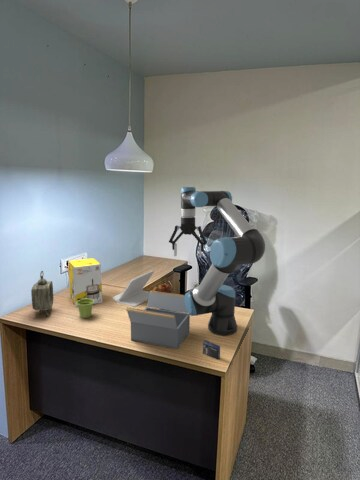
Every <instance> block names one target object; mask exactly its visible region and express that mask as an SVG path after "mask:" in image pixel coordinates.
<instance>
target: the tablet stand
mask: <svg viewBox="0 0 360 480" xmlns="http://www.w3.org/2000/svg"><path fill="white" fill-rule="evenodd" d="M154 272H155V269H152V270H150V271H148V272H146V273H143V274H141V275H139V276H136V277H134V278H131V280H130V281H129V282H128V284H127V286H126V287H125V288H124V291H122V292H121V293H118V294H116V295H115V296H112V300H113V301H114V302H116V303H117V304H121V305H126V306H131V307H134V308H135V307H137V306H139V305H141V304H143V303H145V302H146V301H147V302H148V299H149V294H150V291H147V290H144V288H145V286H146V285H147V283H148V282H149V280H150V279H151V278H152V276H153V275H154V274H155V273H154Z"/></svg>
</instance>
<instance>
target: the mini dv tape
mask: <svg viewBox="0 0 360 480" xmlns="http://www.w3.org/2000/svg"><path fill="white" fill-rule="evenodd" d="M202 354H203V355H205V356H207V357H210V358H213V359H215V360H220V359H221V345H218V344H216V343H214V342H211V341H208V340H203V341H202Z"/></svg>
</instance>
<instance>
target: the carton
mask: <svg viewBox="0 0 360 480" xmlns="http://www.w3.org/2000/svg"><path fill="white" fill-rule="evenodd" d="M143 310H147V311H153V312H160V313H166V314H172V315H175V319H176V324H177V330H176V329H170V328H164V327H159V326H153V325H147V324H141V323H136V322H130V340H131V342H132V341H133V342H139V343H141V344H142V343H143V344H149V345H154V346H159V347H165V348H168V349H169V348H170V349H174V350H178V349H179V348H180V346H181V345H182V343H183V342H184V340H185V339H186V338H187V336H188V335H189V334H190V331H191V330H190V327H191V326H190V322H191V319H190V317H191V315H190V314H189V313H185V312H178V311H172V310H165V309H159V308H152V307H147V306H146V307H145V308H144V309H143Z"/></svg>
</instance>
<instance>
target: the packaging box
mask: <svg viewBox="0 0 360 480" xmlns="http://www.w3.org/2000/svg"><path fill="white" fill-rule="evenodd" d="M67 263H68V264H67V265H68V268H67V269H68V280H69V281H68V283H69V285H68V286H69V297H70V301H71V302H72V304H73V305H74V307H75V308H78V305H77V301H78V300H81V299H92V300H94V302H93V305H96V304H101V303H103V291H102V290H103V289H102V288H103V287H102V264H101V262H99V261H98V260H97V259H95V258H93V257H92V258H91V257H90V258H83V259H74V260H68V261H67Z"/></svg>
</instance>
